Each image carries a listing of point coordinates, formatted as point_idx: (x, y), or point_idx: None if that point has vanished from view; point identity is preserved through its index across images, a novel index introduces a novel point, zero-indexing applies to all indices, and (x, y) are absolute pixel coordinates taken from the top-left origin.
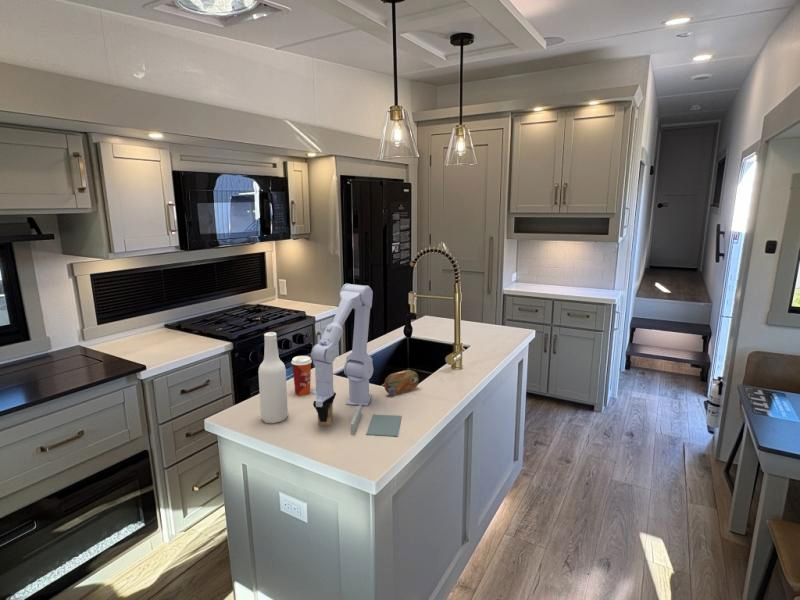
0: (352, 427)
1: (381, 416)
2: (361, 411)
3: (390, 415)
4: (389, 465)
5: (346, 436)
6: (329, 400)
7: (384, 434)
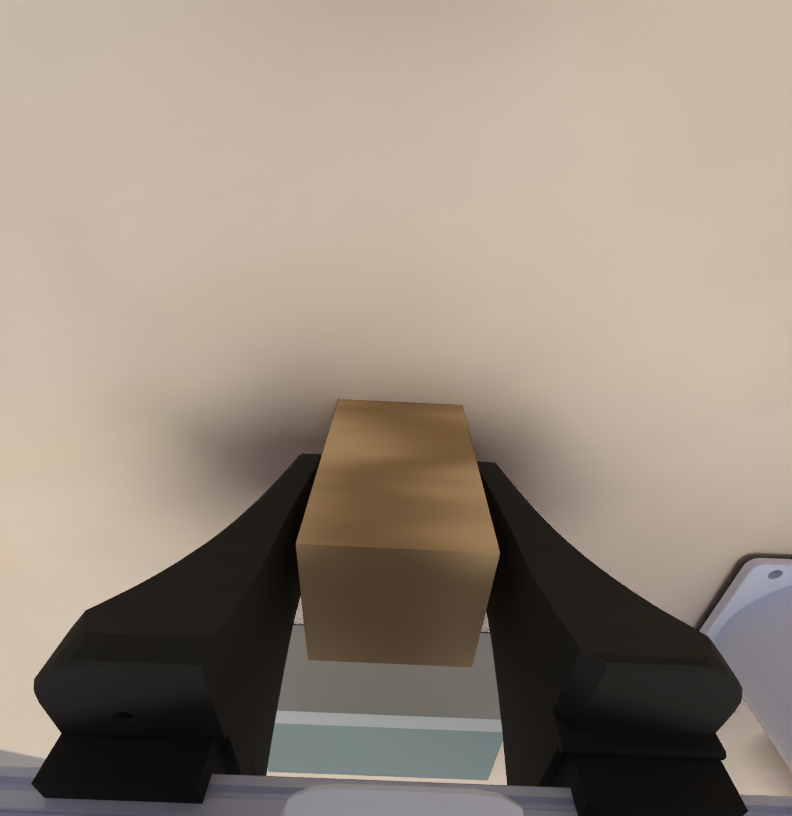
0: None
1: None
2: None
3: (494, 752)
4: (12, 750)
5: None
6: (510, 677)
7: None
